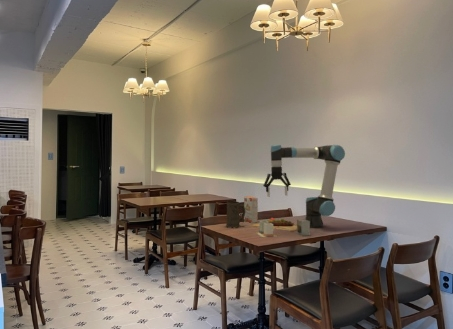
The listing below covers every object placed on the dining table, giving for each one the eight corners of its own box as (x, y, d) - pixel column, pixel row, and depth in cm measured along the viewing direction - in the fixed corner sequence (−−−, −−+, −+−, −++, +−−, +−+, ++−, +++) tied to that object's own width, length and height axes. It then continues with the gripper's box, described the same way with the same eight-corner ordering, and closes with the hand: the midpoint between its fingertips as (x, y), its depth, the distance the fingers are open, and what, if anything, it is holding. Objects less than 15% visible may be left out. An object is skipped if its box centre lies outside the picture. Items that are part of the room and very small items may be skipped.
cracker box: (243, 220, 312) (243, 196, 312) (250, 220, 315) (250, 196, 314) (251, 223, 299) (251, 198, 299) (257, 222, 302) (257, 197, 301)
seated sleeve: (266, 231, 256) (266, 220, 256) (269, 233, 251) (269, 222, 251) (258, 232, 255) (258, 221, 255) (261, 233, 249) (261, 222, 249)
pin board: (269, 233, 258) (269, 224, 257) (277, 238, 242) (277, 228, 242) (254, 234, 255) (254, 225, 255) (262, 239, 239) (262, 229, 239)
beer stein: (228, 228, 277) (229, 202, 277) (223, 225, 287) (224, 200, 287) (246, 228, 283) (248, 202, 283) (240, 225, 293) (242, 201, 293)
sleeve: (273, 236, 242) (273, 224, 242) (265, 236, 241) (265, 224, 240) (270, 234, 247) (270, 222, 247) (263, 234, 246) (263, 223, 246)
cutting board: (250, 227, 286) (250, 217, 286) (270, 223, 302) (270, 214, 302) (286, 233, 260) (286, 223, 260) (305, 229, 277) (305, 219, 276)
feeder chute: (304, 233, 259) (304, 219, 259) (309, 235, 251) (309, 221, 251) (296, 233, 257) (296, 219, 257) (301, 235, 250) (301, 221, 249)
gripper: (290, 165, 265) (291, 194, 266) (258, 167, 259) (259, 196, 260) (294, 165, 258) (295, 195, 259) (262, 167, 252) (263, 197, 252)
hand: (277, 196), depth 259 cm, fingers open, 13 cm apart
